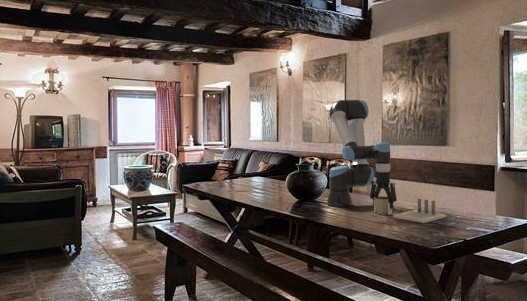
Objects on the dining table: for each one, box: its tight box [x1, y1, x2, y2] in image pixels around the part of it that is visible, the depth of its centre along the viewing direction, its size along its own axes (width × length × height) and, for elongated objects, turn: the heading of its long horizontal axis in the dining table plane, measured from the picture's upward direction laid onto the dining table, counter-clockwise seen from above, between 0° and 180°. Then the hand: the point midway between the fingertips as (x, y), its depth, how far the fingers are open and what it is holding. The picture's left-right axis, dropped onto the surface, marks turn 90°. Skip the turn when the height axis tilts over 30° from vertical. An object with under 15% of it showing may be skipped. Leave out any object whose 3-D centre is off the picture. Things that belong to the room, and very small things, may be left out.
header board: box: [392, 198, 447, 224], centre depth 223 cm, size 18×20×8 cm
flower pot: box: [374, 196, 389, 216], centre depth 233 cm, size 9×9×9 cm
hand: (383, 213), depth 234 cm, fingers closed on flower pot, 8 cm apart
